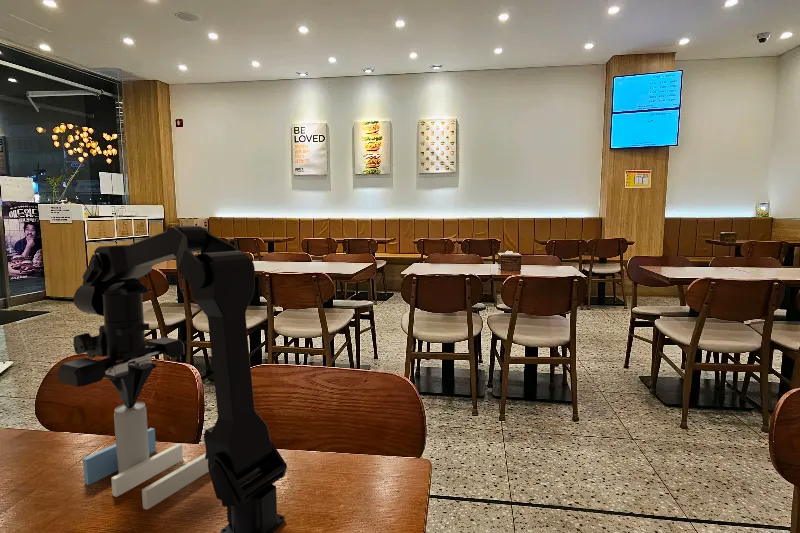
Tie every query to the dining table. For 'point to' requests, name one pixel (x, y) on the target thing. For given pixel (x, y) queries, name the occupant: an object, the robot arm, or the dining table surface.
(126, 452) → the beverage can
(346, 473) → the dining table surface
